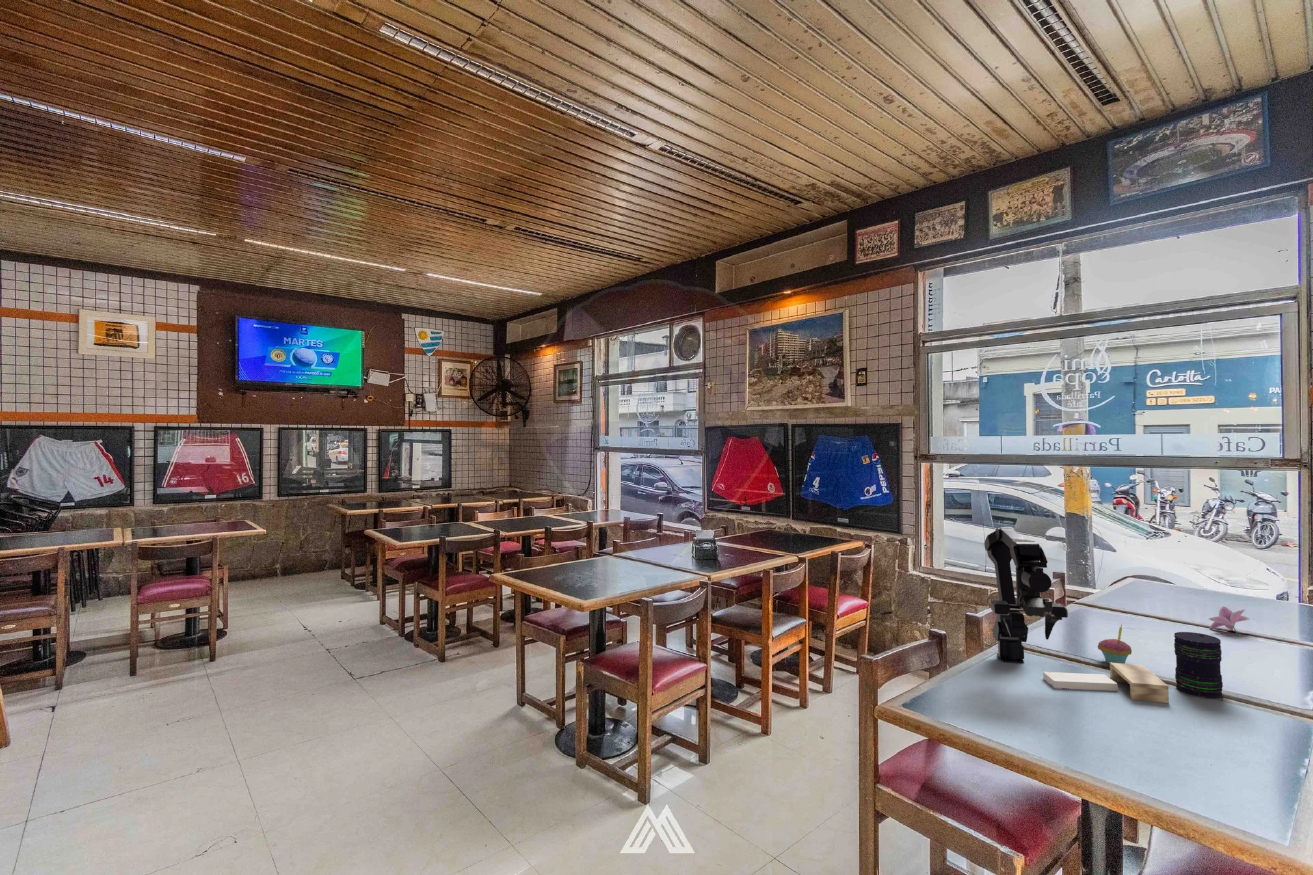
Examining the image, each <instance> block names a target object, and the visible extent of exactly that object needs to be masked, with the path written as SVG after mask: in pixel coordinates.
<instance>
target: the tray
mask: <svg viewBox="0 0 1313 875" xmlns="http://www.w3.org/2000/svg"><path fill="white" fill-rule="evenodd" d="M1042 676H1043V678H1042V679H1043V680H1044V681H1045V680H1046V681H1047V682H1046V681H1045V682H1046V683H1047V684H1049V685H1050V684H1051V685H1052V686H1053V687H1052V686H1051V685H1050V686H1051V687H1052V688H1053V689H1062V688H1067V690H1087V691H1089V690H1090V691H1108V692H1109V691H1110V692H1111V691H1112V692H1118V683H1117V682H1116V681H1115V680H1112V679H1111V678H1110V677H1108V676H1107V675H1105V674H1103V673H1100V674H1099V673H1083V672H1082V673H1079V672H1076V673H1075V672H1058V671H1057V672H1055V671H1052V672H1051V671H1042ZM1068 688H1069V689H1068Z"/></svg>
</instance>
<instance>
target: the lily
mask: <svg viewBox="0 0 1313 875" xmlns="http://www.w3.org/2000/svg"><path fill="white" fill-rule="evenodd" d="M1245 611H1246V609H1241V610H1237V611H1235V612H1233V611H1232V610H1231V609H1230V608H1228V607H1227V606H1225V605H1224V606H1221V607H1220V608H1219V611H1218V616H1213V617H1210V618H1208V620H1209V621H1210V622H1212V623H1211V625H1210V626H1209V628H1208V629H1209V630H1213V629H1216V628H1219V627H1223V626H1224V627H1226V628H1227V629H1228V630H1230V631H1233V630H1234V632H1235V633H1236V635H1237V637H1239V633H1238V631H1237V630H1236V628H1235V625H1236V624H1237V623H1239V622H1243V621H1244V622H1245V621H1249V620H1250V617H1247V616H1244V615H1242V614H1243V613H1244V612H1245Z"/></svg>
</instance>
